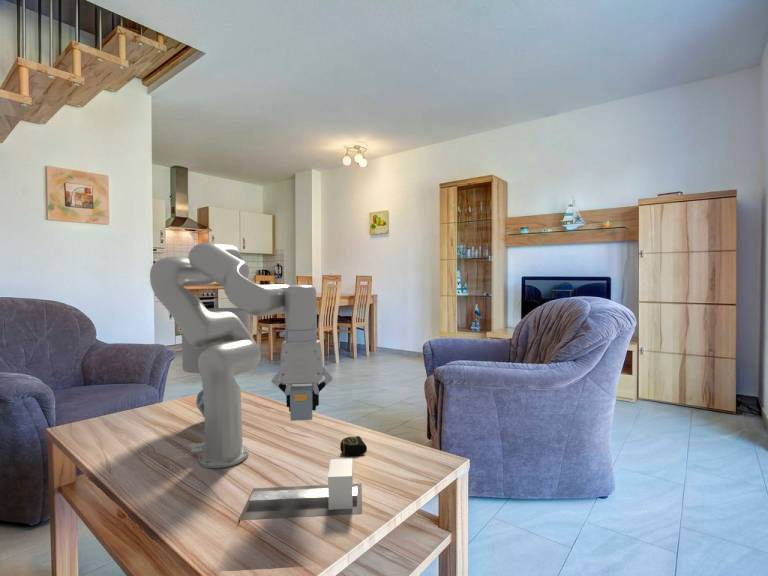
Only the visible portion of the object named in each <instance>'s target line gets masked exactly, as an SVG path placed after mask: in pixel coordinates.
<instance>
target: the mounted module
mask: <svg viewBox="0 0 768 576" xmlns="http://www.w3.org/2000/svg"><path fill="white" fill-rule="evenodd" d="M353 460H354V459H353V458H334V459H332V458H331V459H330V461H329V468H328V473H327V485H328V502H329V510H333V509H353V498H352V494H353V484H354V478H353V475H354V470H353Z"/></svg>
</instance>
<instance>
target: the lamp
mask: <svg viewBox="0 0 768 576" xmlns="http://www.w3.org/2000/svg"><path fill="white" fill-rule="evenodd" d="M206 309H207V310H208V311H211V312H218V311H228V312H231V313H233V314H235V315H236V316H237V317H238V318H239V319H240V320H241V322H242V323H243V324H244V326H245V327H246V329H247V330H248V332H249V333H250V334H251V320H250V319H251V317H250V316H251V314H248V313H246V312H245V311H243V310H241V309H240V308H238V307H214V308H206ZM208 347H210V346H207V347H194V346H193V345H191V344H190V343H189V341H188V340H187V339H186V337H185V336H184V334H183V332H182V331H181V348H182V349H181V351H182V352H181V354H182V370H183V371H184V372H185V373H186V372H187V373H192V374H200V371H199V366H198V360H199V357H200V355H201V353H202V352H203V351H204V350H205V349H206V348H208ZM201 388H203V385H202V384H201ZM196 395H197V396H196V400H195V401H196V402H195V404H196V406H197V409H198V410H199V412H200V413H201V415H202V417H204V396H203V389H202V390H200V391H199V392H198V393H197V394H196ZM203 423H204V424H205V421H204V422H203Z"/></svg>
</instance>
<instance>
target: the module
mask: <svg viewBox="0 0 768 576" xmlns="http://www.w3.org/2000/svg"><path fill="white" fill-rule="evenodd" d="M312 409H313V387H312V384H293V385H292V388H291V390H290V412H289V414H290V422H294V421H311V420H312V421H313V410H312Z"/></svg>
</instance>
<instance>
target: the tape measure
mask: <svg viewBox="0 0 768 576" xmlns="http://www.w3.org/2000/svg"><path fill="white" fill-rule="evenodd" d="M339 447H340V448H339V449H340V452H341V454H343V456H346V457H356V456H360V455H364V454H366V453H367V451H368V450H367V449H368V448H367V444H366V443H365V442H364V441H363V439H362V437H361V436H359V435H356V436H347V437H345V438H342V440H341V441H340V446H339Z"/></svg>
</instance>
